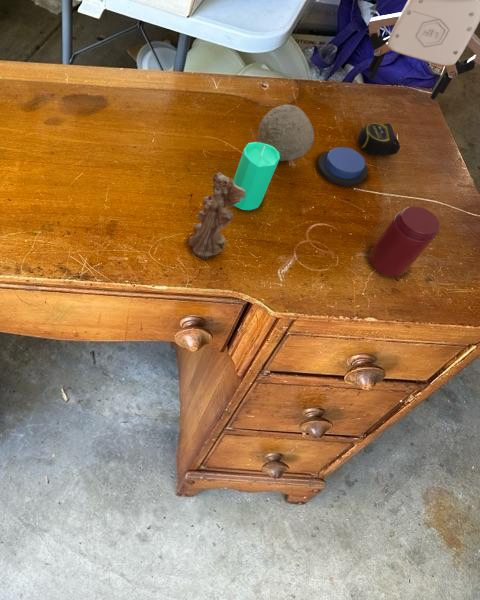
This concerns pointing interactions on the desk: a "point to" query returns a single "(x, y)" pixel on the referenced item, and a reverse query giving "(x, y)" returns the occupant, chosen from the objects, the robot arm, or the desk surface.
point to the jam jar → (404, 241)
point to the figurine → (215, 216)
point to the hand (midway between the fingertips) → (402, 85)
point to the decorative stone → (287, 131)
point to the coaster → (337, 179)
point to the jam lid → (344, 162)
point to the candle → (255, 173)
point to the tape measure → (378, 139)
